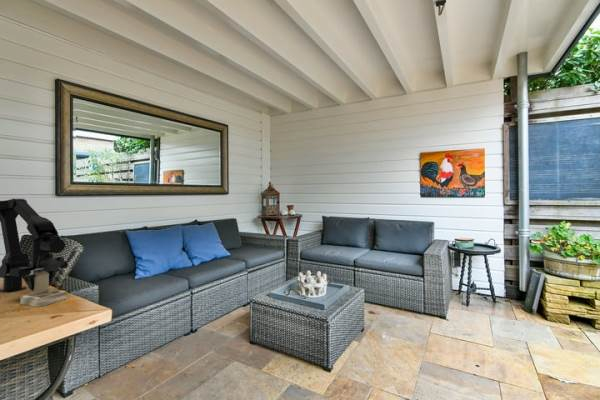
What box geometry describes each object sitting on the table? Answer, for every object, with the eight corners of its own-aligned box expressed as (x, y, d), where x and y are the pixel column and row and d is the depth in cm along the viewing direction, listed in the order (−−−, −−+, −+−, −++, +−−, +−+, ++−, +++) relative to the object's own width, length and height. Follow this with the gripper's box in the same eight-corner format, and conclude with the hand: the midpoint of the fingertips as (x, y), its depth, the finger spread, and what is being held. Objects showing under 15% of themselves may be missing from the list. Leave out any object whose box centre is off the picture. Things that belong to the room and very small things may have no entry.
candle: (52, 293, 128) (52, 269, 128) (39, 297, 122) (40, 272, 122) (40, 292, 128) (40, 269, 128) (27, 296, 123) (27, 272, 123)
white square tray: (20, 303, 114) (20, 296, 114) (48, 296, 124) (48, 288, 124) (39, 307, 112) (39, 299, 112) (67, 298, 121) (67, 291, 121)
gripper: (29, 256, 114) (28, 297, 114) (77, 249, 132) (76, 284, 132) (8, 254, 117) (7, 294, 117) (58, 247, 135) (58, 282, 135)
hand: (40, 288), depth 125 cm, fingers open, 6 cm apart
